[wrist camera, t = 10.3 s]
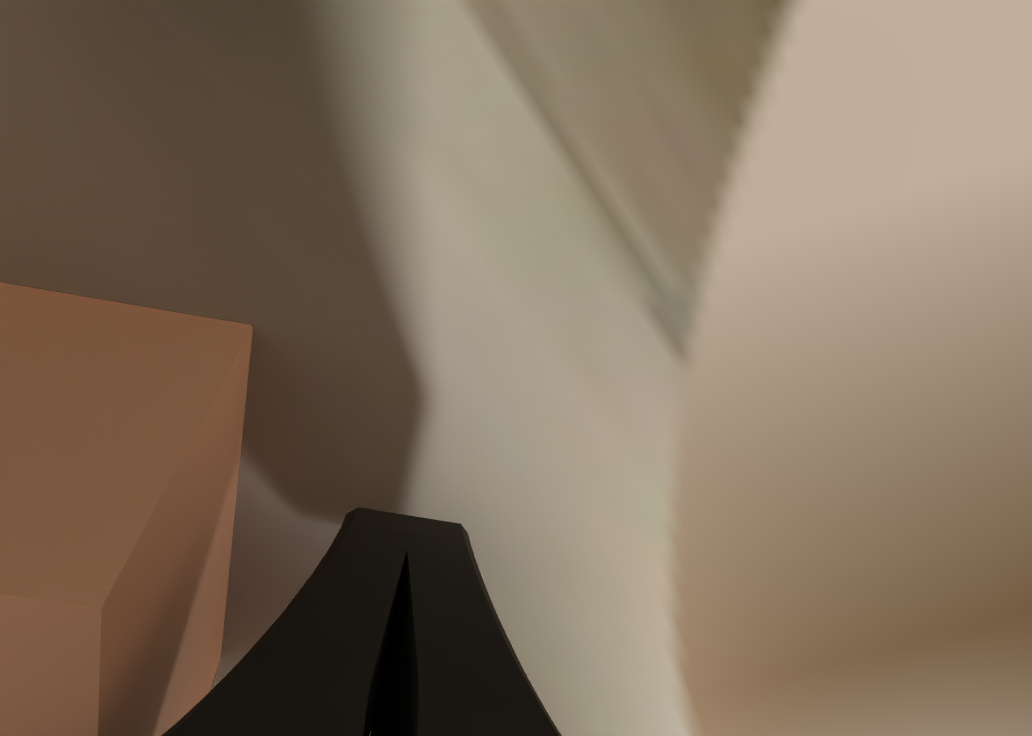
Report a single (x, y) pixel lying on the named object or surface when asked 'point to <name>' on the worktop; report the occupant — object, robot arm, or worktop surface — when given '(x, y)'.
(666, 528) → the worktop surface
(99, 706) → the block
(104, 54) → the worktop surface
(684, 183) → the worktop surface
